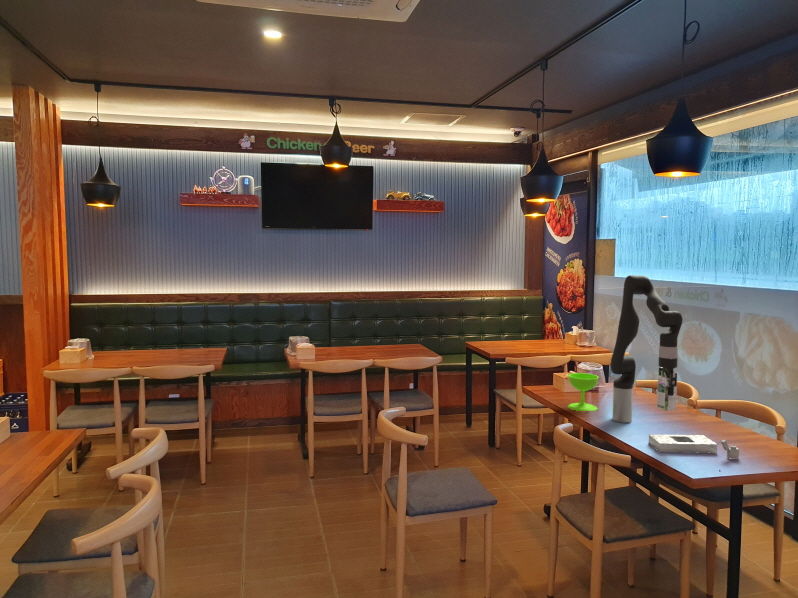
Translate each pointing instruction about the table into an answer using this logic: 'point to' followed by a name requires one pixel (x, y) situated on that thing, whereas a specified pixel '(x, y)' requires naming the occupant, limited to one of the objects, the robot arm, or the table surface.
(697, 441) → the white flat block
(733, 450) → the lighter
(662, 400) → the syrup box
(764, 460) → the table surface
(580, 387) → the wineglass
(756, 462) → the table surface
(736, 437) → the table surface
